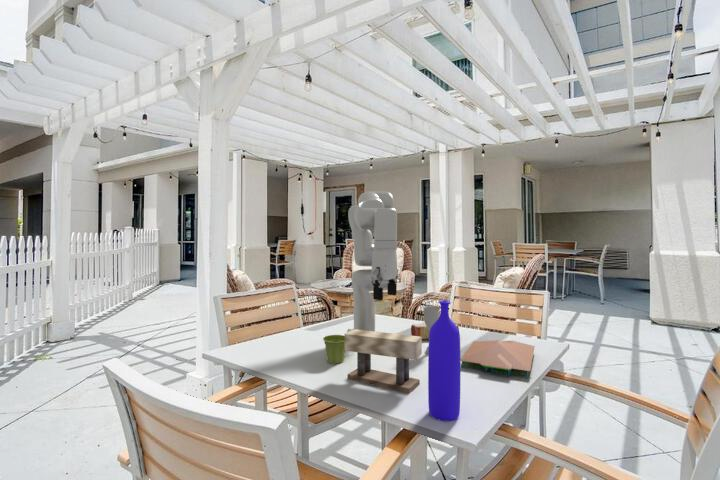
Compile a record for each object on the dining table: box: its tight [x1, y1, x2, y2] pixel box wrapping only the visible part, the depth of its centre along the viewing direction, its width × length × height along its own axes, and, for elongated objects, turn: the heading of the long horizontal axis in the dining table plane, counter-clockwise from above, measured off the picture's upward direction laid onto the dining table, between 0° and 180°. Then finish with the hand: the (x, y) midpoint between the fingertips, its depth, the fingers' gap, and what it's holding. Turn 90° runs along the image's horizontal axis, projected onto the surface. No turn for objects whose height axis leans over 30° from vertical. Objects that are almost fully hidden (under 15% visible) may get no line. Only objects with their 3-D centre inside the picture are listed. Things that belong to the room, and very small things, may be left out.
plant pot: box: [322, 334, 346, 365], centre depth 141 cm, size 9×9×9 cm
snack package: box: [410, 323, 460, 340], centre depth 172 cm, size 21×7×7 cm, turn 100°
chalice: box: [422, 305, 441, 355], centre depth 151 cm, size 7×7×18 cm
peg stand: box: [347, 352, 421, 394], centre depth 122 cm, size 22×8×10 cm, turn 59°
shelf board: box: [344, 328, 423, 361], centre depth 122 cm, size 24×6×6 cm, turn 67°
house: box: [460, 340, 536, 379], centre depth 141 cm, size 23×33×8 cm
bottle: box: [427, 299, 461, 422], centre depth 100 cm, size 8×8×30 cm
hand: (385, 297), depth 125 cm, fingers open, 9 cm apart
